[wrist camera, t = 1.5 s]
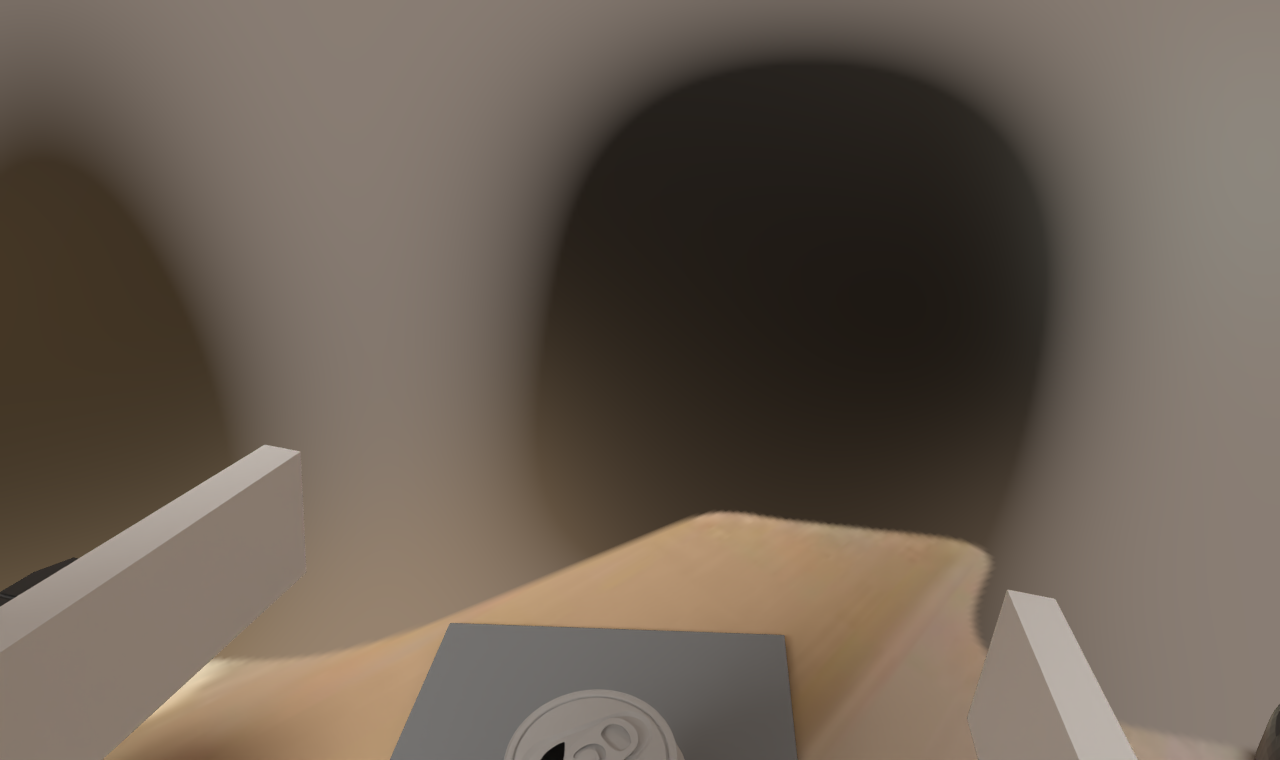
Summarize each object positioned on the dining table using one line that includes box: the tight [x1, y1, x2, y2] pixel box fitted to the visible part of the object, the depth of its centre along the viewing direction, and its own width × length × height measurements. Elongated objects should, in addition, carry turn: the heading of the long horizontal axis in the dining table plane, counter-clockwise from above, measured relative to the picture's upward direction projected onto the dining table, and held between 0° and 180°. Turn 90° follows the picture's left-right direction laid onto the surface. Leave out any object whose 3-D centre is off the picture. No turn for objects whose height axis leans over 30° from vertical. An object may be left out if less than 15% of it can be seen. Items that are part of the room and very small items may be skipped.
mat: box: [390, 623, 797, 760], centre depth 40 cm, size 20×14×1 cm
